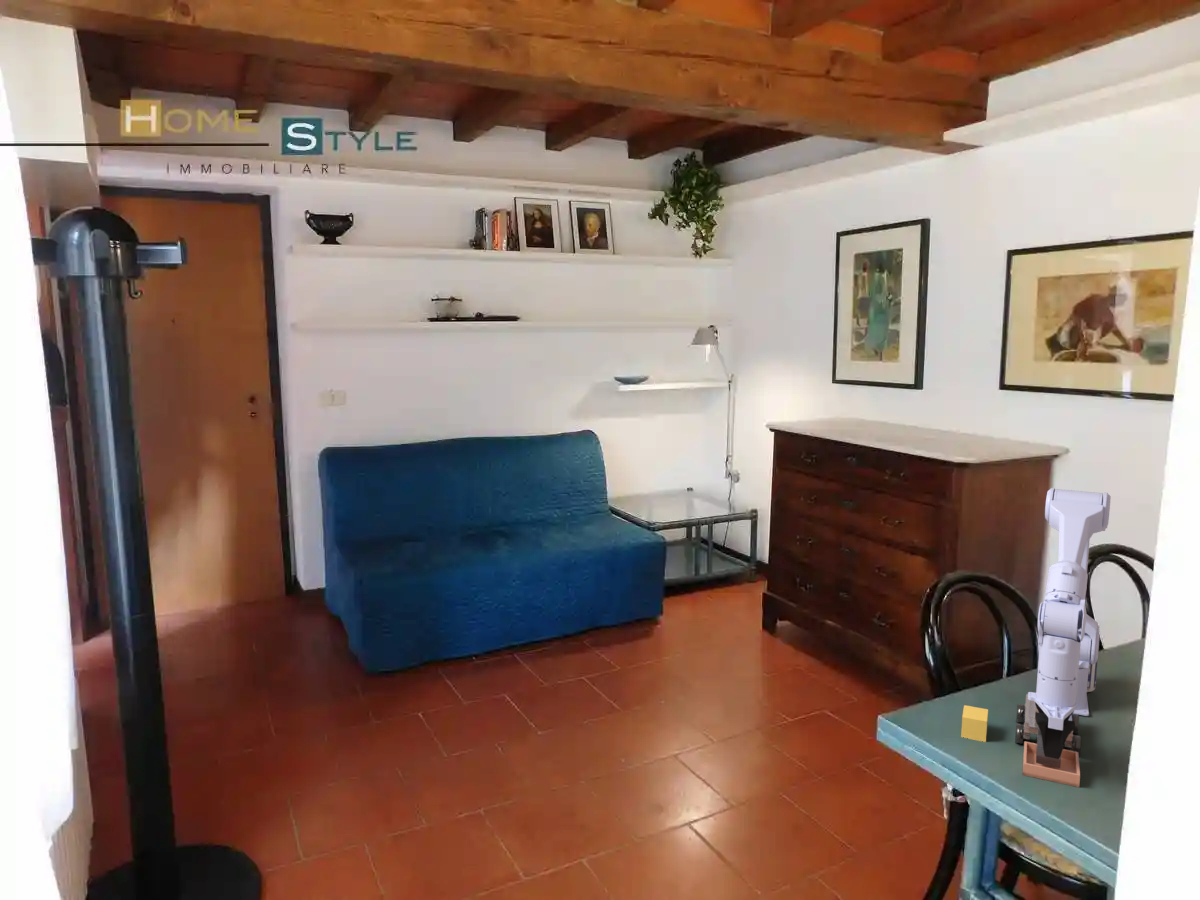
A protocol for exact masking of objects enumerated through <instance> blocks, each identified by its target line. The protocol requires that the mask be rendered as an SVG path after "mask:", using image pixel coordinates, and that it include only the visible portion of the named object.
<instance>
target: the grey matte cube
mask: <svg viewBox="0 0 1200 900" xmlns="http://www.w3.org/2000/svg"><path fill="white" fill-rule="evenodd" d="M1036 735H1037V736H1036V744H1037V748H1036V763H1039V764H1043V765H1048V766H1053V767H1057V768H1060V765H1061V756H1060V758H1059V759H1055V758H1050V757H1046V756H1045V755H1044V751H1043V743H1042V736H1041V732H1040V729H1039V726H1038V734H1036Z"/></svg>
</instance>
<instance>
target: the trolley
mask: <svg viewBox="0 0 1200 900" xmlns="http://www.w3.org/2000/svg"><path fill="white" fill-rule="evenodd" d="M1016 705H1017V706H1016V720H1015V722H1017V723H1016V724H1015V735H1014V736H1015V738H1014V743H1016V744H1020V745H1024V739H1025V740H1030V738H1031V737H1030V736H1031V734H1032V735H1033V734H1034V735H1037V734H1038V724H1037V723H1036V720H1035V712H1038V709H1037V707H1036V705H1035V701H1031V700H1028V693H1026V694H1025V703H1024V704H1020V703H1017V704H1016ZM1038 713H1039V712H1038ZM1079 717H1080V715H1078V714H1072V715H1071V716H1070V718H1069V719H1068V720H1069V721H1074V722H1075V727H1074V729H1073V731H1072V732H1071V733H1070V734H1069V735H1068V737H1067V739H1066V741H1065V744H1064V747H1065V748H1070V751H1075V752H1078V757H1079V756H1080V755H1081V745H1082V744H1081V739H1082V737H1081V736H1080V735H1075V734H1078V733H1079V725H1080V724H1079V723H1080V719H1079ZM1020 723H1022V724H1020Z"/></svg>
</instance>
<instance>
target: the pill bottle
mask: <svg viewBox="0 0 1200 900" xmlns="http://www.w3.org/2000/svg"><path fill="white" fill-rule="evenodd" d="M1098 660H1099V659H1098V658H1097V662H1096V663H1094V664H1090V665H1089V671H1088V683H1087V693H1089V692H1094V691H1095V690H1096V687H1097V685H1096V684H1097V673H1098Z"/></svg>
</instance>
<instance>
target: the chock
mask: <svg viewBox="0 0 1200 900" xmlns="http://www.w3.org/2000/svg"><path fill="white" fill-rule="evenodd" d="M988 716H989V709H987V708H982V707H976V706H971V705H966V704H964V705H963V710H962V717H961V731H960V732H961V733H960V734H961V735H960V737H961V738H963V737H964V739H967V738H968V740H974V741H977V742H982V741H983V743H987V734H988V720H989V717H988Z"/></svg>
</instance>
